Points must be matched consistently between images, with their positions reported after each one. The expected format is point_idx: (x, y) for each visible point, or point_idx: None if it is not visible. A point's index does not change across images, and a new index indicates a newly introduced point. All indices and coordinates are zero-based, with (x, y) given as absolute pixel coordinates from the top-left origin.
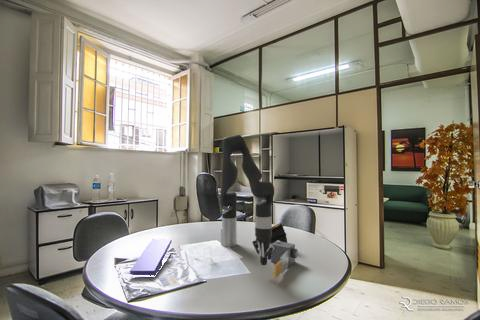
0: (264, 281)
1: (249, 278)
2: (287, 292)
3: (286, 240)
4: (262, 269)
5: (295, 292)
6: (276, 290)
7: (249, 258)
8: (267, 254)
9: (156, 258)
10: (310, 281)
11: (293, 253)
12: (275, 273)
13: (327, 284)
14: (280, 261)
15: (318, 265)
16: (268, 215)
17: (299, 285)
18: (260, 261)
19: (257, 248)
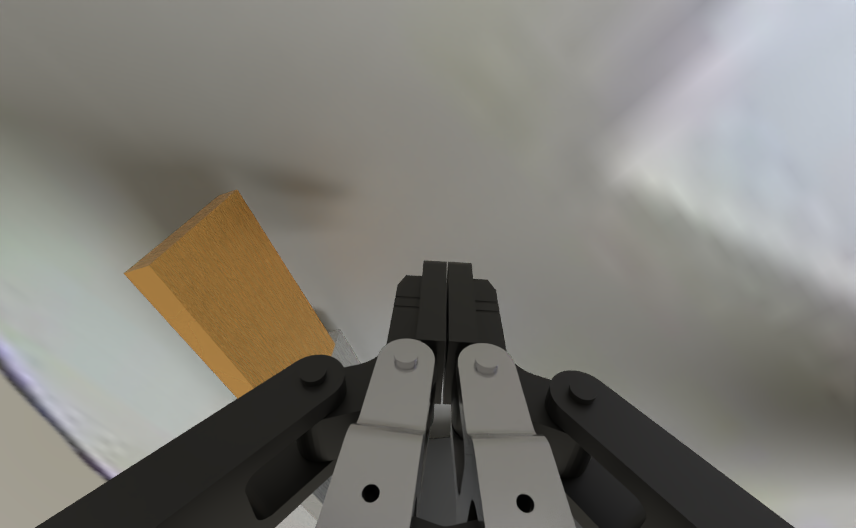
0: (348, 126)
1: (526, 41)
2: (39, 124)
3: None
4: (544, 300)
5: (21, 180)
6: (114, 67)
7: (790, 377)
8: (247, 410)
9: None
10: (151, 376)
11: None
12: (188, 223)
13: (74, 404)
14: None
15: (306, 521)
16: None
17: (126, 290)
18: (494, 292)
19: (633, 488)
